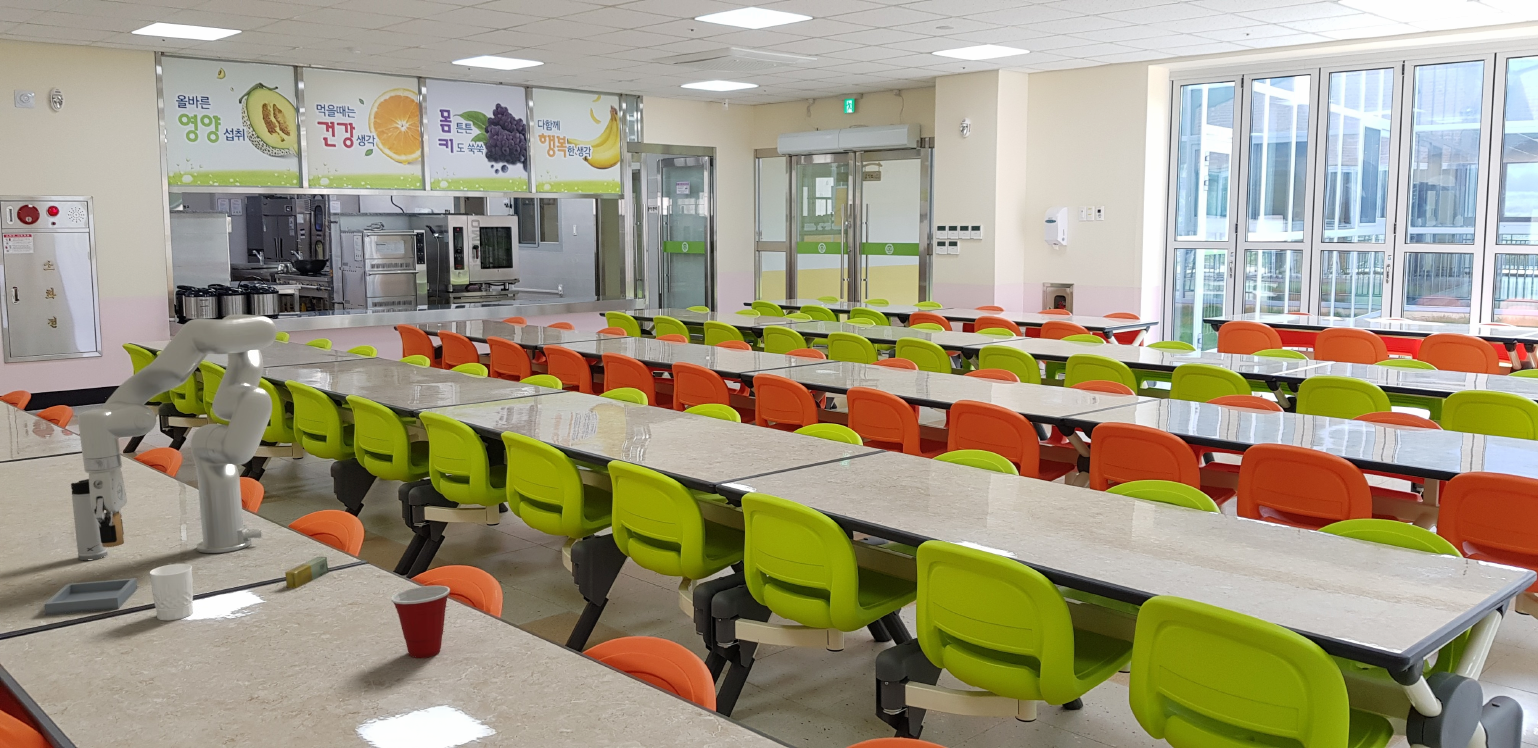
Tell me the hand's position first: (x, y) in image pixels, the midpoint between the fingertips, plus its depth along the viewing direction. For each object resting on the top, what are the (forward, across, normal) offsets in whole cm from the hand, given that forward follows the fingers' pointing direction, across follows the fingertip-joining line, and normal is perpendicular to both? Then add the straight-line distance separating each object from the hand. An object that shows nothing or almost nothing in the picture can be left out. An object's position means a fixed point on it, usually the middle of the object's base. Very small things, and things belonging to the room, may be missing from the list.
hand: (112, 538), depth 267 cm
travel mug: (+10, +19, +11) cm, 24 cm away
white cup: (+9, -34, -20) cm, 40 cm away
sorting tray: (+9, -19, 0) cm, 21 cm away
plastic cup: (+10, -71, -72) cm, 102 cm away
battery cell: (+1, 0, 0) cm, 1 cm away
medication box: (+10, -16, -44) cm, 48 cm away
